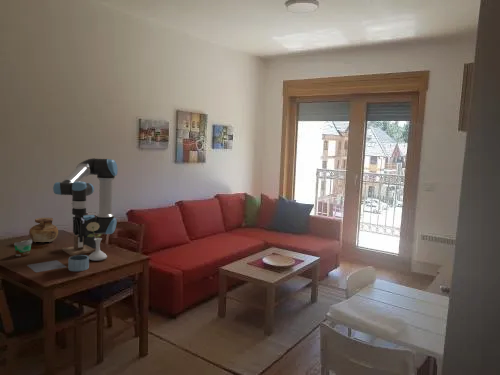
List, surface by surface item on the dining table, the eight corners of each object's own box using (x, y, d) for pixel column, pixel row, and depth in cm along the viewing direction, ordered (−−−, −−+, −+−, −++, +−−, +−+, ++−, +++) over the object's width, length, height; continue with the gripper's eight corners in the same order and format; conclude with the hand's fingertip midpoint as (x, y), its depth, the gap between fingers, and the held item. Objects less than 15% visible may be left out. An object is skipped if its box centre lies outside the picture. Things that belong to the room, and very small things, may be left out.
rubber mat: (56, 260, 238) (56, 260, 238) (66, 267, 226) (66, 266, 226) (26, 265, 226) (26, 265, 226) (35, 273, 214) (35, 272, 214)
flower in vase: (108, 257, 252) (109, 220, 249) (105, 262, 241) (105, 223, 238) (88, 256, 249) (88, 220, 247) (83, 262, 238) (83, 223, 236)
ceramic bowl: (84, 264, 233) (84, 254, 232) (91, 269, 225) (91, 258, 225) (65, 268, 225) (65, 257, 224) (72, 273, 217) (72, 261, 217)
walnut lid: (85, 246, 234) (85, 232, 233) (95, 251, 224) (95, 236, 223) (62, 250, 224) (62, 234, 223) (71, 255, 214) (71, 239, 213)
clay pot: (20, 238, 274) (30, 212, 278) (43, 243, 289) (52, 218, 294) (36, 242, 265) (46, 215, 269) (58, 247, 280) (68, 222, 285)
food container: (22, 258, 239) (22, 243, 238) (14, 257, 240) (13, 242, 239) (36, 253, 251) (36, 238, 250) (28, 252, 252) (28, 238, 251)
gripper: (67, 206, 225) (66, 244, 227) (78, 210, 213) (78, 250, 215) (79, 205, 230) (79, 242, 232) (91, 209, 218) (91, 248, 221)
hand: (78, 246), depth 224 cm, fingers closed on walnut lid, 4 cm apart
